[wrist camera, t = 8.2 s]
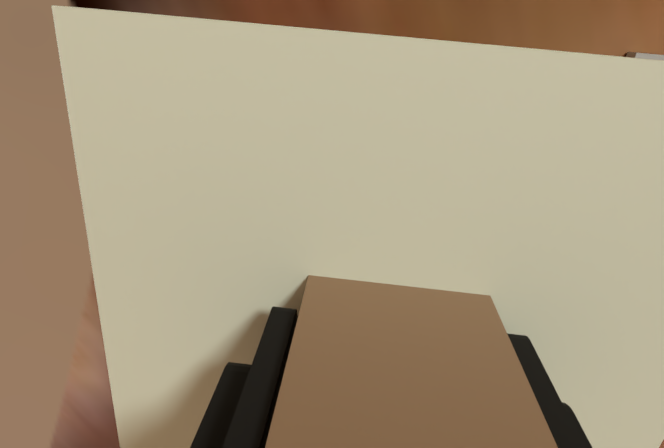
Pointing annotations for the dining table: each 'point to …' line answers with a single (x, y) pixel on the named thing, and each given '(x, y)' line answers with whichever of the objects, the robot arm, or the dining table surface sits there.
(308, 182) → the lid
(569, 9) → the dining table surface
